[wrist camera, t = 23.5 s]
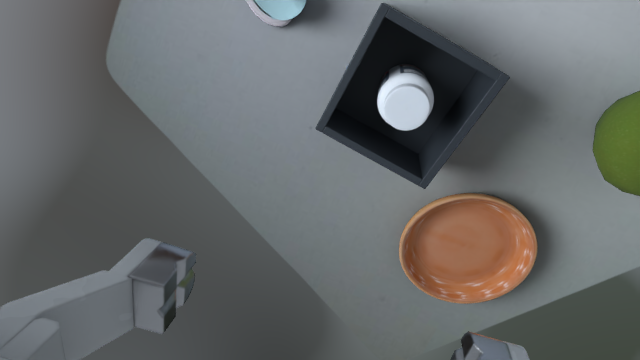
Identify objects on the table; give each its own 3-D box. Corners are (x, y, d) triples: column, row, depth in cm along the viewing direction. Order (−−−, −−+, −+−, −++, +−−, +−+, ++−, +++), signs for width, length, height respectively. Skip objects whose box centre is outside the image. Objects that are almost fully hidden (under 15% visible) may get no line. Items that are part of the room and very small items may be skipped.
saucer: (548, 195, 43) (558, 207, 40) (509, 297, 50) (515, 314, 47) (409, 177, 45) (410, 188, 43) (390, 278, 52) (390, 293, 50)
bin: (327, 108, 43) (315, 129, 36) (383, 2, 38) (381, 2, 31) (420, 159, 44) (424, 189, 37) (489, 63, 38) (510, 77, 31)
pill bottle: (390, 119, 42) (389, 147, 34) (371, 77, 40) (365, 95, 32) (435, 100, 40) (446, 123, 32) (417, 54, 38) (424, 68, 30)
